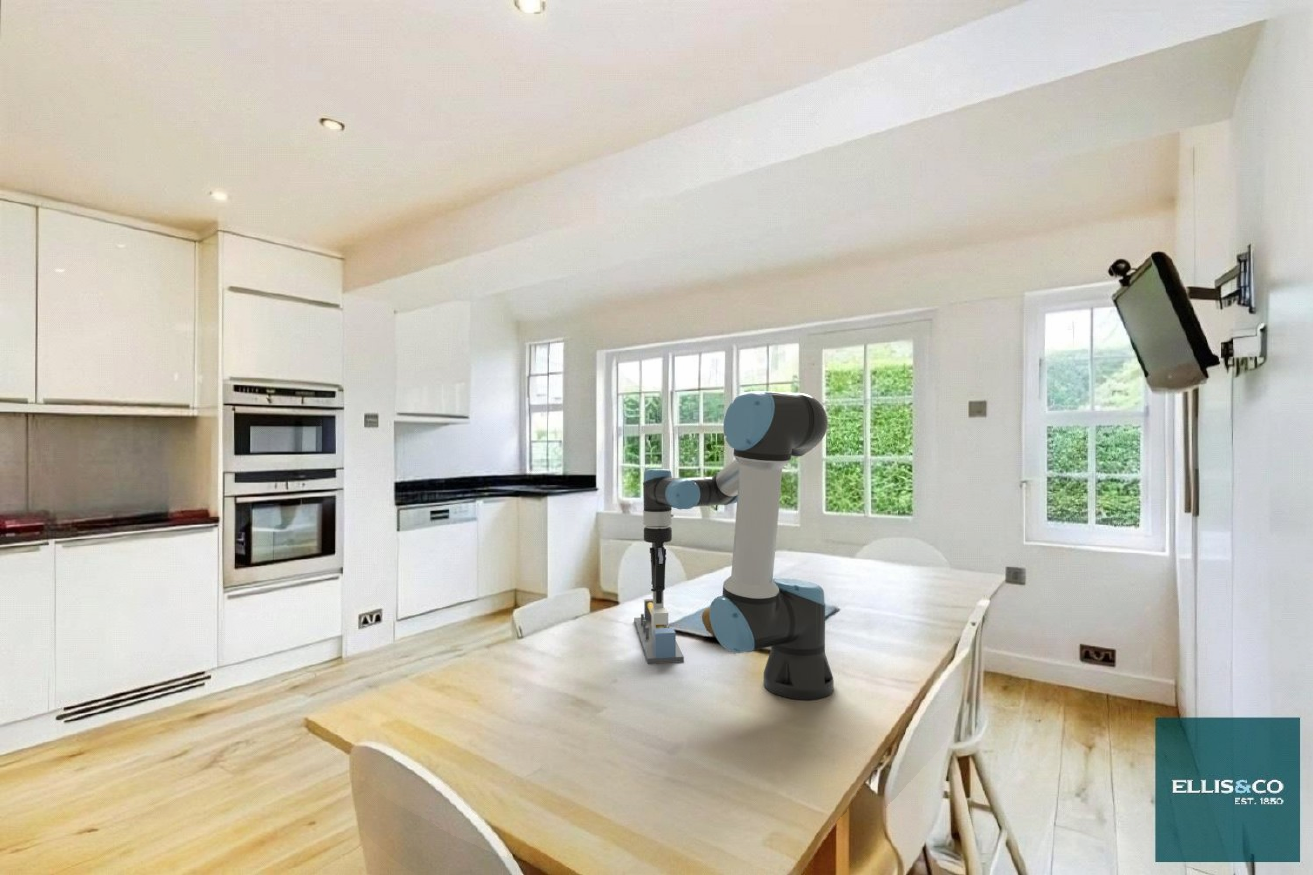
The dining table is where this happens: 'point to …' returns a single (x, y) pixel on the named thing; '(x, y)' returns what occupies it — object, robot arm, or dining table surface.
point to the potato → (707, 621)
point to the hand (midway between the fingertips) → (658, 614)
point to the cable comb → (657, 639)
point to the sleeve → (659, 617)
